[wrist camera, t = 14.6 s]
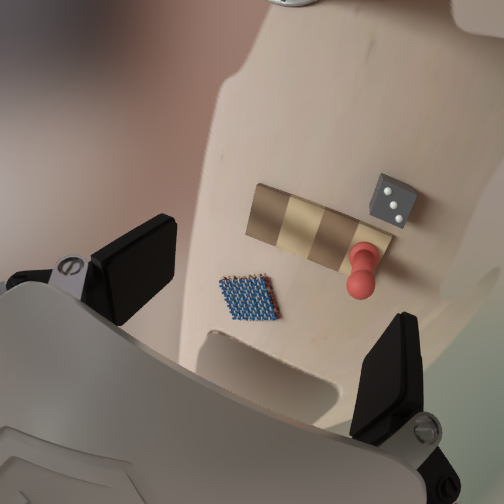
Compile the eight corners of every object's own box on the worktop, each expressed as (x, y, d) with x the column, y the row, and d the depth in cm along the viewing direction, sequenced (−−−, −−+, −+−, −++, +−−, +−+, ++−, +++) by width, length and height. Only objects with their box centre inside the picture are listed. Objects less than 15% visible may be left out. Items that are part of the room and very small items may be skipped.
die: (380, 172, 35) (383, 180, 31) (411, 186, 34) (417, 195, 30) (369, 204, 38) (369, 216, 34) (398, 217, 37) (402, 230, 33)
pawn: (356, 236, 40) (350, 271, 32) (383, 248, 39) (384, 286, 31) (345, 261, 42) (336, 299, 34) (371, 272, 41) (367, 313, 33)
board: (259, 183, 43) (256, 184, 42) (391, 233, 39) (392, 237, 38) (248, 231, 48) (245, 234, 47) (368, 280, 43) (368, 284, 42)
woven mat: (282, 316, 55) (279, 323, 53) (236, 316, 59) (232, 322, 58) (269, 271, 51) (265, 276, 49) (220, 274, 56) (215, 279, 54)
